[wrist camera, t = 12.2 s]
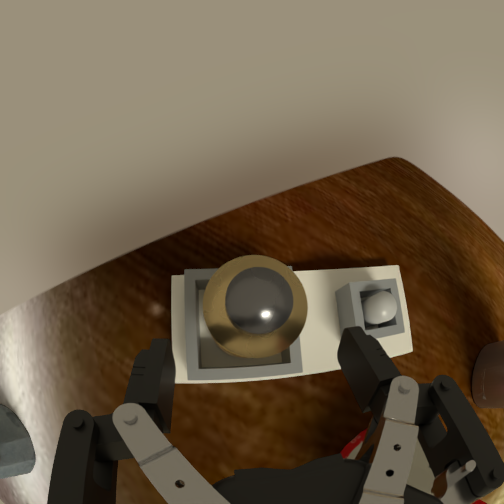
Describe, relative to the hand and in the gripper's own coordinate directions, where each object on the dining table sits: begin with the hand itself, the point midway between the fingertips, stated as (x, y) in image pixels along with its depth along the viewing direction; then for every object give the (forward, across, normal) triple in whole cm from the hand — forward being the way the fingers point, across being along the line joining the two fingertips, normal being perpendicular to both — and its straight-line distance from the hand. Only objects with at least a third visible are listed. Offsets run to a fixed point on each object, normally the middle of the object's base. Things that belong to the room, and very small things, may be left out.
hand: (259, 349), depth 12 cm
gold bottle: (+8, 0, +5) cm, 10 cm away
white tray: (+9, -5, +6) cm, 13 cm away
